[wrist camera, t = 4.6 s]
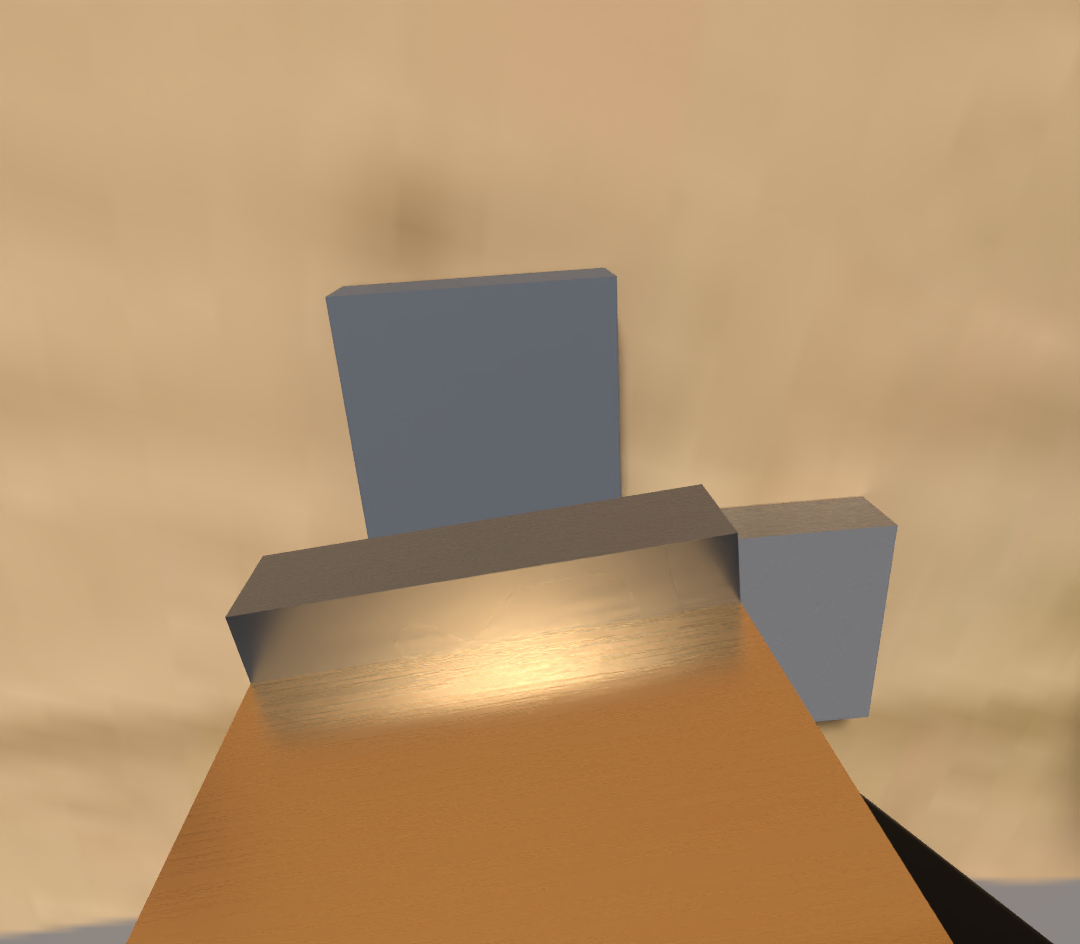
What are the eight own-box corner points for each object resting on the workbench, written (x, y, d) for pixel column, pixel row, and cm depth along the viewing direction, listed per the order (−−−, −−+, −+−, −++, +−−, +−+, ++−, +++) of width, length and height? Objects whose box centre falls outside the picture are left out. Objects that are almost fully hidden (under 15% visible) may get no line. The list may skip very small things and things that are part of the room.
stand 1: (604, 267, 18) (616, 276, 17) (610, 503, 21) (621, 533, 19) (342, 286, 18) (325, 296, 16) (382, 522, 21) (371, 554, 19)
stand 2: (863, 496, 22) (897, 525, 20) (839, 676, 24) (868, 716, 22) (642, 515, 21) (656, 545, 19) (643, 695, 24) (656, 736, 22)
